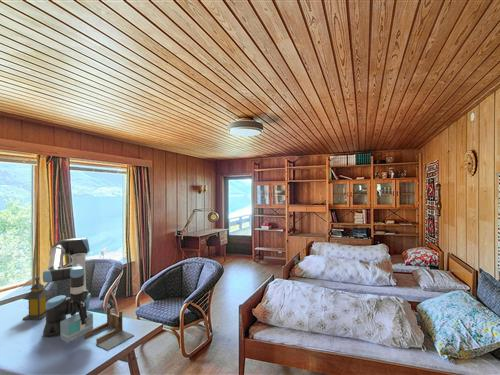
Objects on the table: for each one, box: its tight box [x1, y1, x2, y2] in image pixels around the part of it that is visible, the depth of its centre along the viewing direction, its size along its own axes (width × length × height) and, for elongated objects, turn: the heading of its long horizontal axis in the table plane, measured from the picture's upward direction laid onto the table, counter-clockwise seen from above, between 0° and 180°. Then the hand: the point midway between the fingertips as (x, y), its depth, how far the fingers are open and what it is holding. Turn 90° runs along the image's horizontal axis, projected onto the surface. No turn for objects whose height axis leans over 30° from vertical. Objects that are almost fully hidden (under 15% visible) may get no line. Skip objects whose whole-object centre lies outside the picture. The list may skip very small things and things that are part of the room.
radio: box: [60, 300, 94, 343], centre depth 175 cm, size 16×9×20 cm, turn 153°
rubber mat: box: [95, 330, 135, 352], centre depth 183 cm, size 12×19×1 cm, turn 151°
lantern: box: [22, 276, 52, 321], centre depth 216 cm, size 14×14×30 cm
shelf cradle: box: [83, 306, 124, 344], centre depth 191 cm, size 15×18×14 cm
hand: (78, 327), depth 176 cm, fingers closed on radio, 9 cm apart
